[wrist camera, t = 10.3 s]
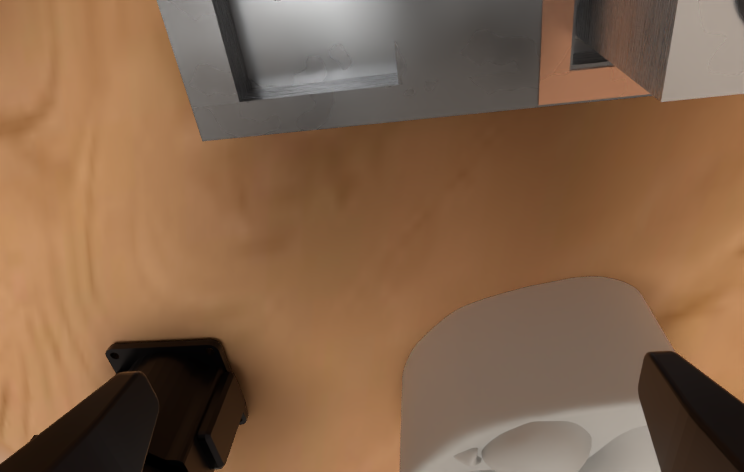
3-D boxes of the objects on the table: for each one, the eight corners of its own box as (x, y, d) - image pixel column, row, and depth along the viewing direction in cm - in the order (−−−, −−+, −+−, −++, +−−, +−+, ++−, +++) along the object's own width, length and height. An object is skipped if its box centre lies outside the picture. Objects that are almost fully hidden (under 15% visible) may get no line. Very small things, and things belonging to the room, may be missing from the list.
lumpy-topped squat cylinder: (664, 404, 28) (754, 581, 20) (436, 447, 31) (443, 612, 24) (636, 256, 23) (741, 420, 15) (369, 328, 26) (352, 489, 19)
